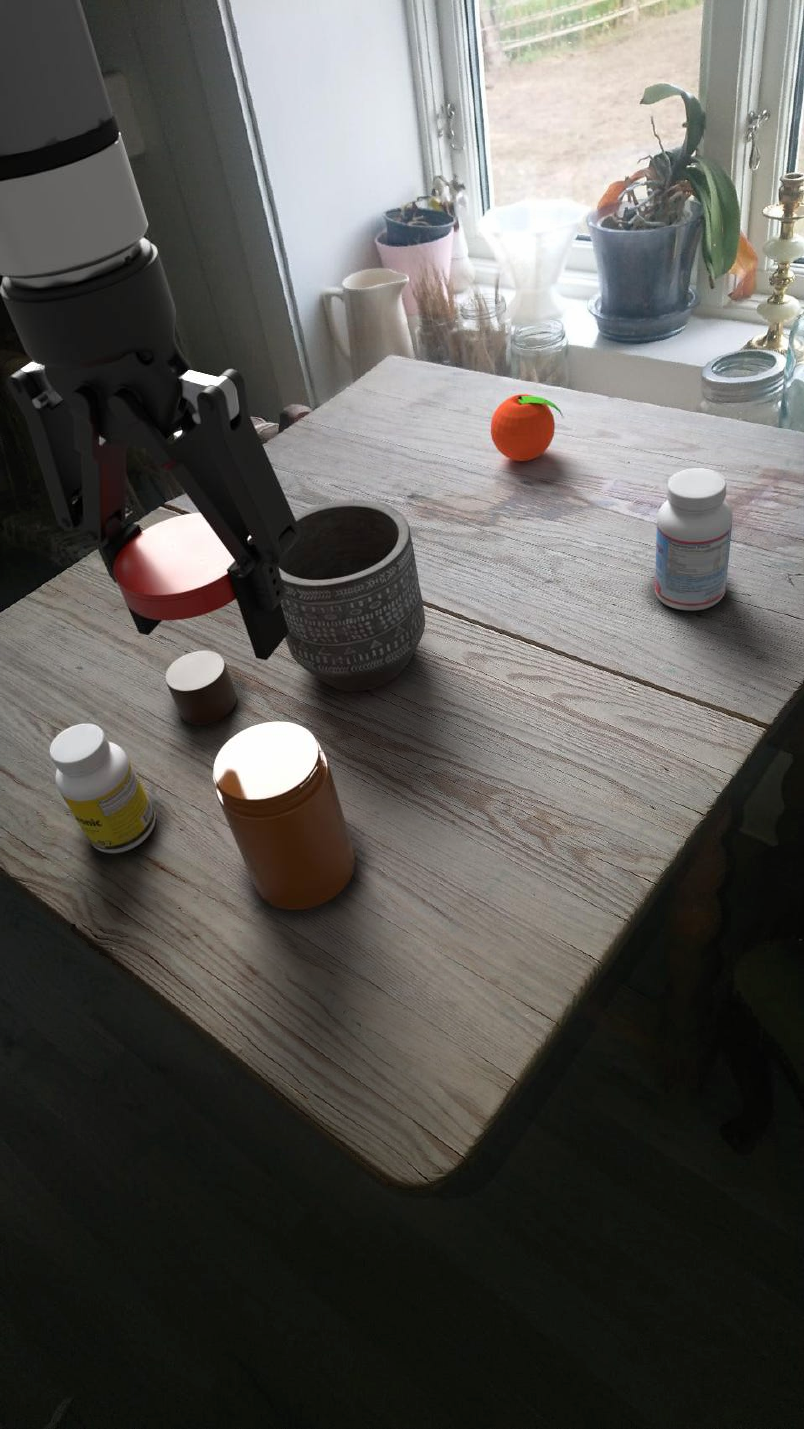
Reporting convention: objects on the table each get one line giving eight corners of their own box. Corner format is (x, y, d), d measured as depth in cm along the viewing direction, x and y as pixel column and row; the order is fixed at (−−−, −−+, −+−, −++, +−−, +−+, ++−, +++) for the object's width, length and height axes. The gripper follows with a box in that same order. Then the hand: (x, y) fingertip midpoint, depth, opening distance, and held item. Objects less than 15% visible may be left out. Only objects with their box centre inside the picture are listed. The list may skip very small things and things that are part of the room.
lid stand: (167, 718, 85) (153, 684, 82) (199, 679, 88) (186, 645, 86) (216, 730, 83) (203, 696, 80) (247, 690, 86) (236, 655, 84)
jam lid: (278, 587, 56) (271, 562, 54) (139, 640, 54) (128, 614, 53) (238, 521, 62) (231, 496, 60) (112, 566, 60) (101, 542, 59)
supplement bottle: (77, 831, 77) (26, 745, 70) (135, 791, 79) (91, 704, 73) (111, 868, 74) (61, 781, 67) (170, 825, 76) (127, 737, 69)
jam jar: (233, 894, 70) (186, 788, 62) (285, 816, 75) (246, 708, 67) (325, 923, 67) (287, 815, 59) (372, 840, 72) (343, 730, 64)
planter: (351, 603, 93) (324, 486, 84) (457, 638, 87) (439, 516, 78) (268, 680, 87) (230, 562, 78) (376, 724, 81) (348, 602, 72)
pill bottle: (665, 567, 90) (670, 458, 82) (732, 578, 87) (744, 467, 80) (645, 606, 86) (648, 497, 79) (715, 619, 84) (725, 507, 76)
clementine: (569, 439, 109) (567, 379, 104) (562, 472, 104) (559, 411, 100) (498, 441, 111) (493, 382, 106) (488, 473, 107) (482, 413, 102)
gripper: (307, 225, 43) (388, 623, 59) (-32, 226, 52) (118, 573, 67) (215, 295, 39) (330, 706, 54) (-139, 283, 47) (48, 641, 63)
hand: (212, 632), depth 61 cm, fingers closed on jam lid, 8 cm apart
